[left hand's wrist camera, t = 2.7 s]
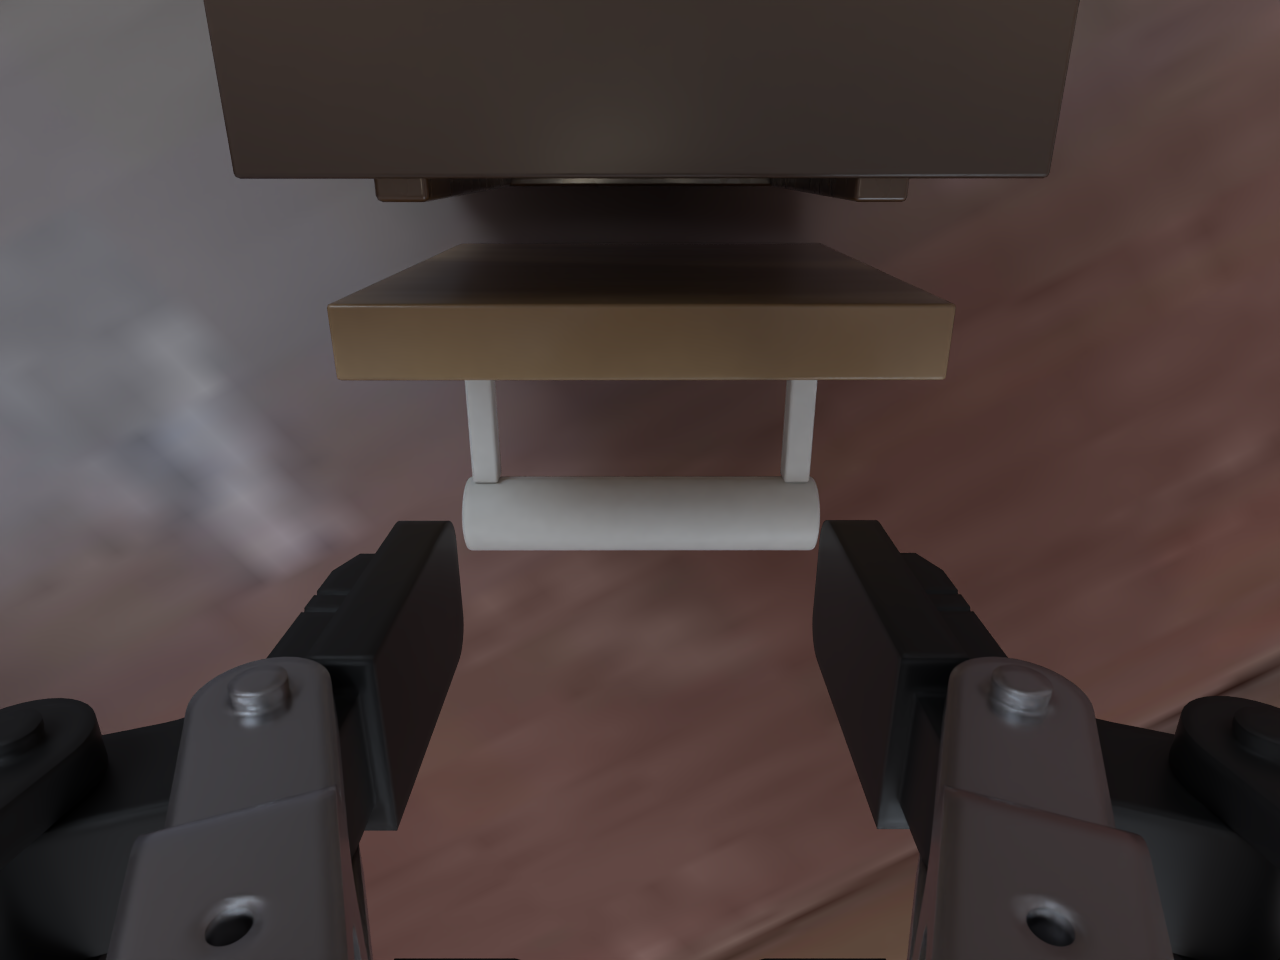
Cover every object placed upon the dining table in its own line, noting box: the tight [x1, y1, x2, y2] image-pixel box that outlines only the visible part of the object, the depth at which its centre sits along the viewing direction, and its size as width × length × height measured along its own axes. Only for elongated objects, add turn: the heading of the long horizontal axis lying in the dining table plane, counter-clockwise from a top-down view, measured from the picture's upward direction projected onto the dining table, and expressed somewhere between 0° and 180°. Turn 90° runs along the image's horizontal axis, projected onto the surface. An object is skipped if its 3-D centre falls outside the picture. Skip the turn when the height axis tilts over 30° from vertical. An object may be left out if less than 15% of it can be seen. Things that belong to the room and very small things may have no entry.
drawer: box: [327, 178, 956, 550], centre depth 15 cm, size 21×10×10 cm, turn 0°
